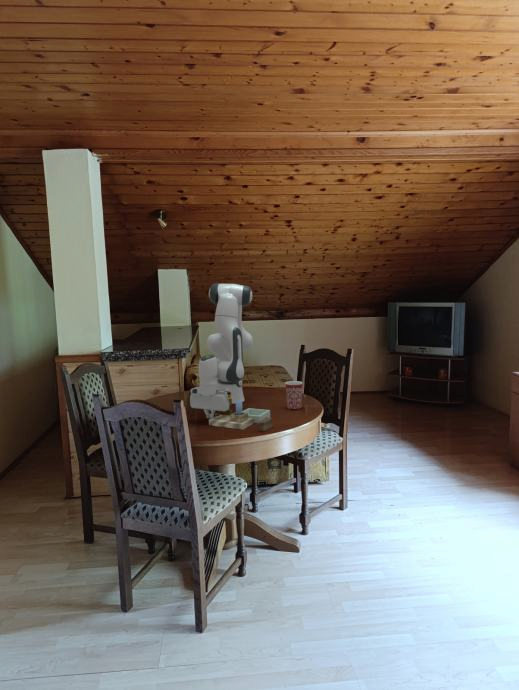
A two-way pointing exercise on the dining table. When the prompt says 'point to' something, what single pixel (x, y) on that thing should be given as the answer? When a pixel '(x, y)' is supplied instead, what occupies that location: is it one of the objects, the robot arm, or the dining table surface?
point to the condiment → (229, 406)
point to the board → (232, 421)
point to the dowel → (239, 407)
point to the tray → (257, 414)
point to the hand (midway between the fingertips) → (210, 418)
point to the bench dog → (265, 424)
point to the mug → (294, 394)
